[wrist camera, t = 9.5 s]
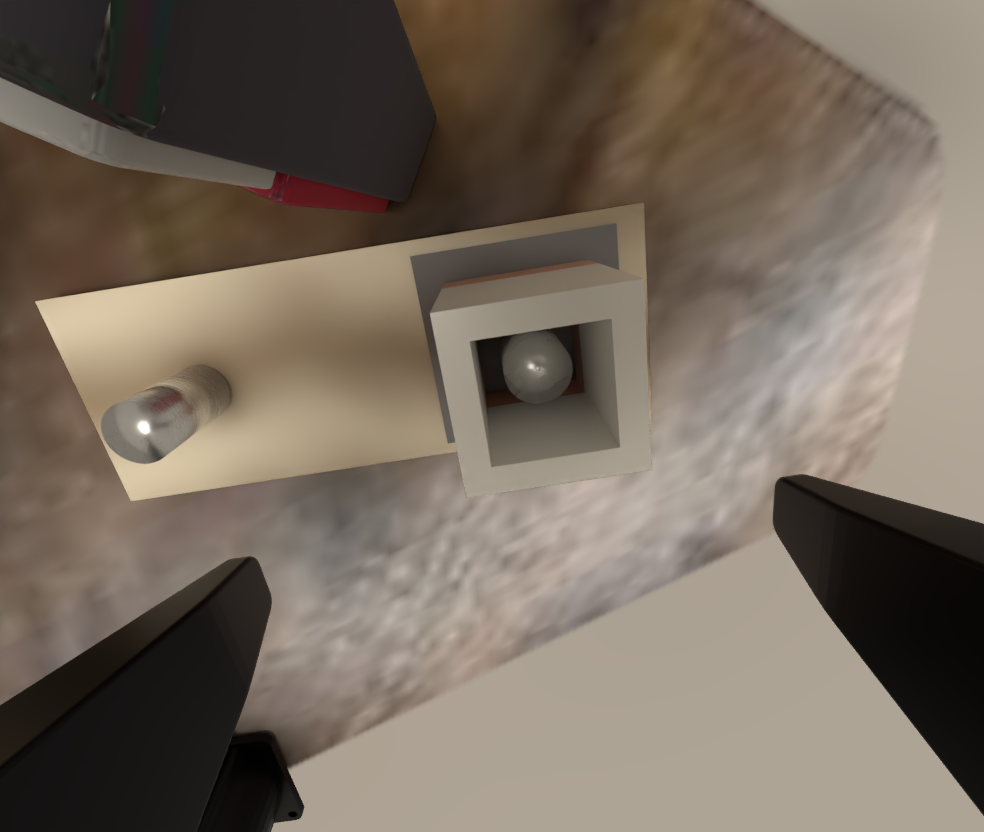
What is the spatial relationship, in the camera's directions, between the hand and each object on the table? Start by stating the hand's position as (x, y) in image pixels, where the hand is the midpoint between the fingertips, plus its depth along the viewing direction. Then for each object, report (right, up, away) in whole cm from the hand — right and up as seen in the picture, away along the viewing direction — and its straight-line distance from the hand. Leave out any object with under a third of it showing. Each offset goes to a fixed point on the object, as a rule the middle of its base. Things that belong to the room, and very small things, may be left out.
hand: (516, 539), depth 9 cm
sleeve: (+1, +5, +9) cm, 11 cm away
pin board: (-5, +4, +11) cm, 13 cm away
